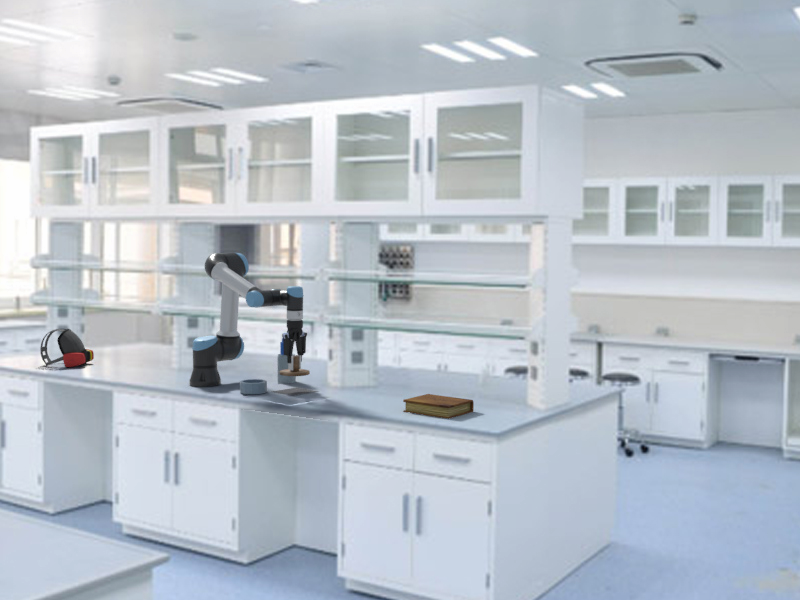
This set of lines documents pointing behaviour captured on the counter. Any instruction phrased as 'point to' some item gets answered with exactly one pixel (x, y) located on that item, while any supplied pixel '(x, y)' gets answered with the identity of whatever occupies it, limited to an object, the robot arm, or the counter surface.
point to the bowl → (253, 386)
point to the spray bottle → (284, 366)
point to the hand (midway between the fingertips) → (294, 369)
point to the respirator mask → (68, 349)
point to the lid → (294, 369)
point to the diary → (438, 406)
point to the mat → (295, 391)
